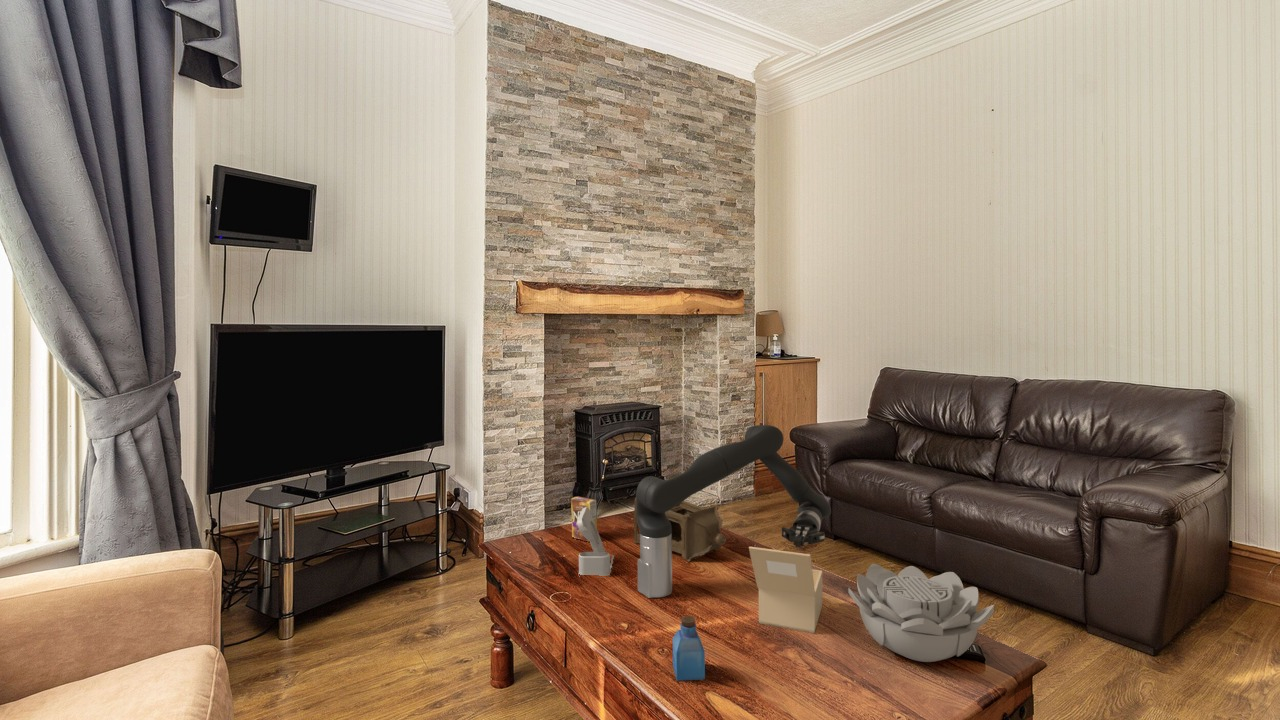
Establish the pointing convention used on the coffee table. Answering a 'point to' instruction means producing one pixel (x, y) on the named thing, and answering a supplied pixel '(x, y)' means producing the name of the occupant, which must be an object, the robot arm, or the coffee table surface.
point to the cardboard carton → (791, 607)
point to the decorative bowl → (919, 612)
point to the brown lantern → (691, 530)
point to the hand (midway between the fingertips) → (798, 543)
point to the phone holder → (592, 560)
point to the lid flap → (783, 571)
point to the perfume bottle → (688, 652)
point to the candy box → (577, 507)
